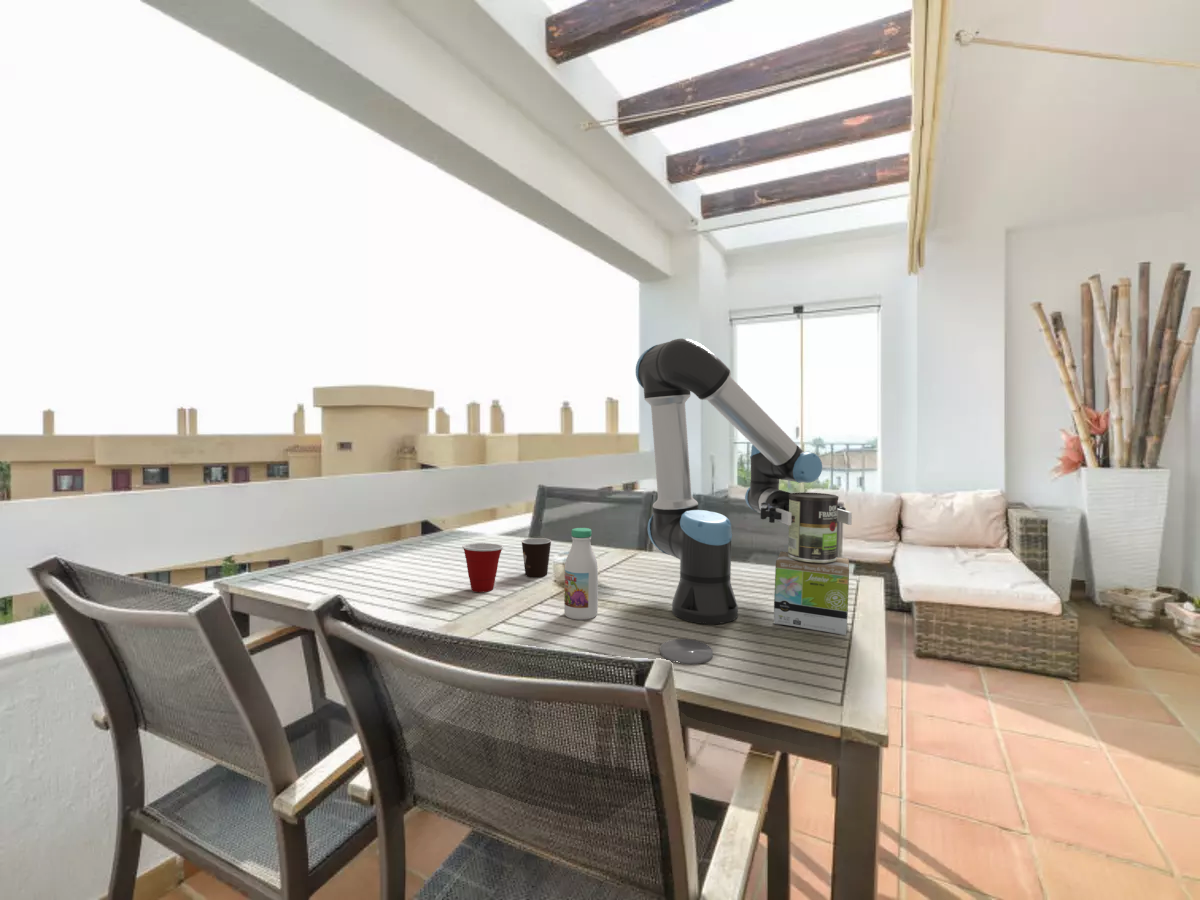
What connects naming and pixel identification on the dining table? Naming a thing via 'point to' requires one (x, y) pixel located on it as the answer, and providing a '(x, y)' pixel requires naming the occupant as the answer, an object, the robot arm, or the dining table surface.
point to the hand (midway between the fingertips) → (820, 518)
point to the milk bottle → (581, 577)
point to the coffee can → (813, 527)
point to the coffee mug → (536, 556)
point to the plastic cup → (482, 565)
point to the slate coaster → (686, 651)
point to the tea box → (812, 594)
